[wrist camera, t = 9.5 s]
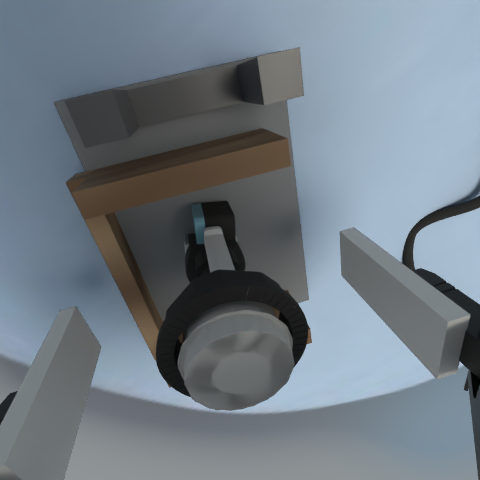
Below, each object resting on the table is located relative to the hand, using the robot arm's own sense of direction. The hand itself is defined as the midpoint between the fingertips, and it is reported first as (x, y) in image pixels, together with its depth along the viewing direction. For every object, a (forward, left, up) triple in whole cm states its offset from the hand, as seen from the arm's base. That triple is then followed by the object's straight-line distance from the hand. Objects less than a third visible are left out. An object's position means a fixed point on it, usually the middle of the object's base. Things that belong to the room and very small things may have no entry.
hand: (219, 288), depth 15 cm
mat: (-2, +1, -5) cm, 5 cm away
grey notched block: (-9, +1, -5) cm, 10 cm away
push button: (0, 0, -5) cm, 5 cm away
